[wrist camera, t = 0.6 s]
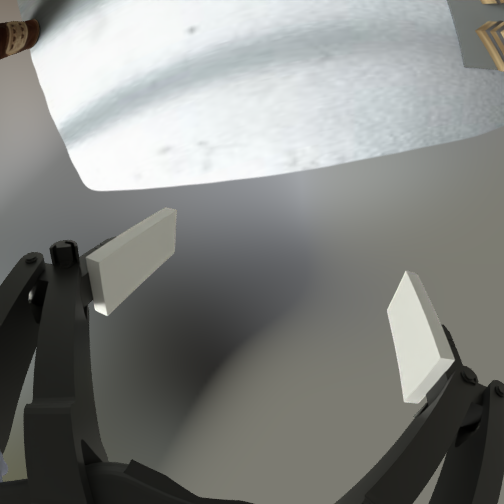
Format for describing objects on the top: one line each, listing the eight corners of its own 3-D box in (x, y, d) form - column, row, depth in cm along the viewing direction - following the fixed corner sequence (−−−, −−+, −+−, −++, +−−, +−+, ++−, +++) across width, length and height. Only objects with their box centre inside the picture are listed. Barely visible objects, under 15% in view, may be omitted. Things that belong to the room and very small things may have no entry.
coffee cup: (46, 7, 21) (-10, 15, 12) (45, 46, 27) (-11, 61, 17) (19, 23, 22) (-32, 35, 12) (19, 58, 27) (-32, 77, 18)
